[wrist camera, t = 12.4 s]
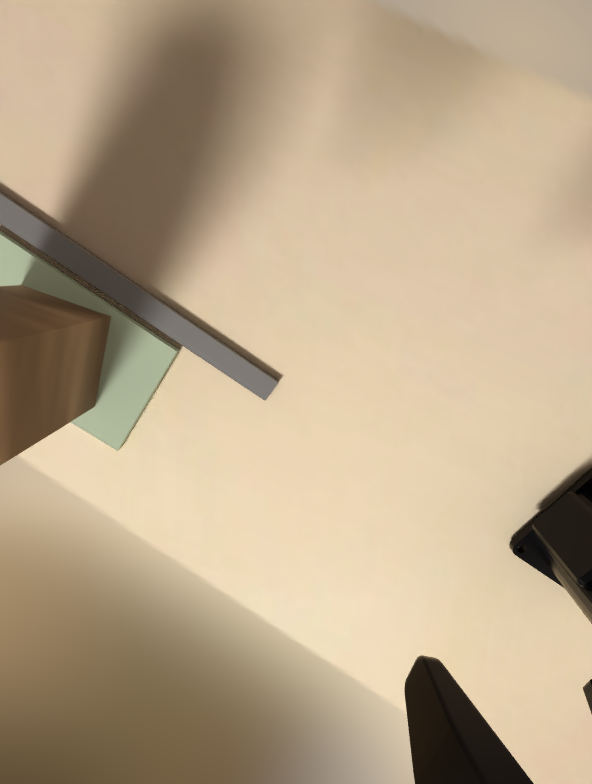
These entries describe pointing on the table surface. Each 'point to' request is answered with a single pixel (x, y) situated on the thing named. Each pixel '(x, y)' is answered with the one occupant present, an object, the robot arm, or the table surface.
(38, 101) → the table surface
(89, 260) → the charcoal strip
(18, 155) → the table surface
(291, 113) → the table surface
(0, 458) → the walnut post
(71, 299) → the mat
